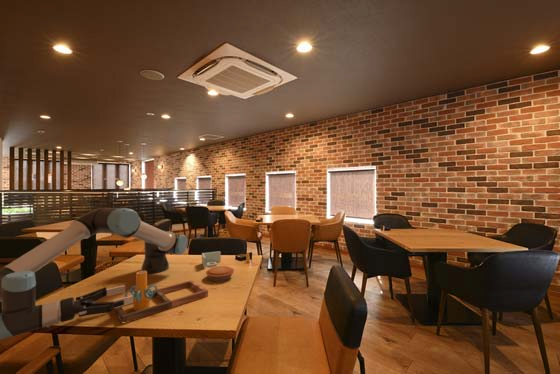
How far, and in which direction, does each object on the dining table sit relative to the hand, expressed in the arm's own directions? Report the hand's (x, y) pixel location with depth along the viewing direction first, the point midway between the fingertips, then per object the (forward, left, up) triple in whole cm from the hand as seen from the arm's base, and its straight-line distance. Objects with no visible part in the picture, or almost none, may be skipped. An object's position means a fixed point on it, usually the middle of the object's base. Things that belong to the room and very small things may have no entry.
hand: (129, 293), depth 101 cm
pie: (-9, +47, -8) cm, 48 cm away
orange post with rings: (-1, +5, -8) cm, 9 cm away
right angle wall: (-32, +55, -8) cm, 64 cm away
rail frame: (-1, +13, -8) cm, 15 cm away
